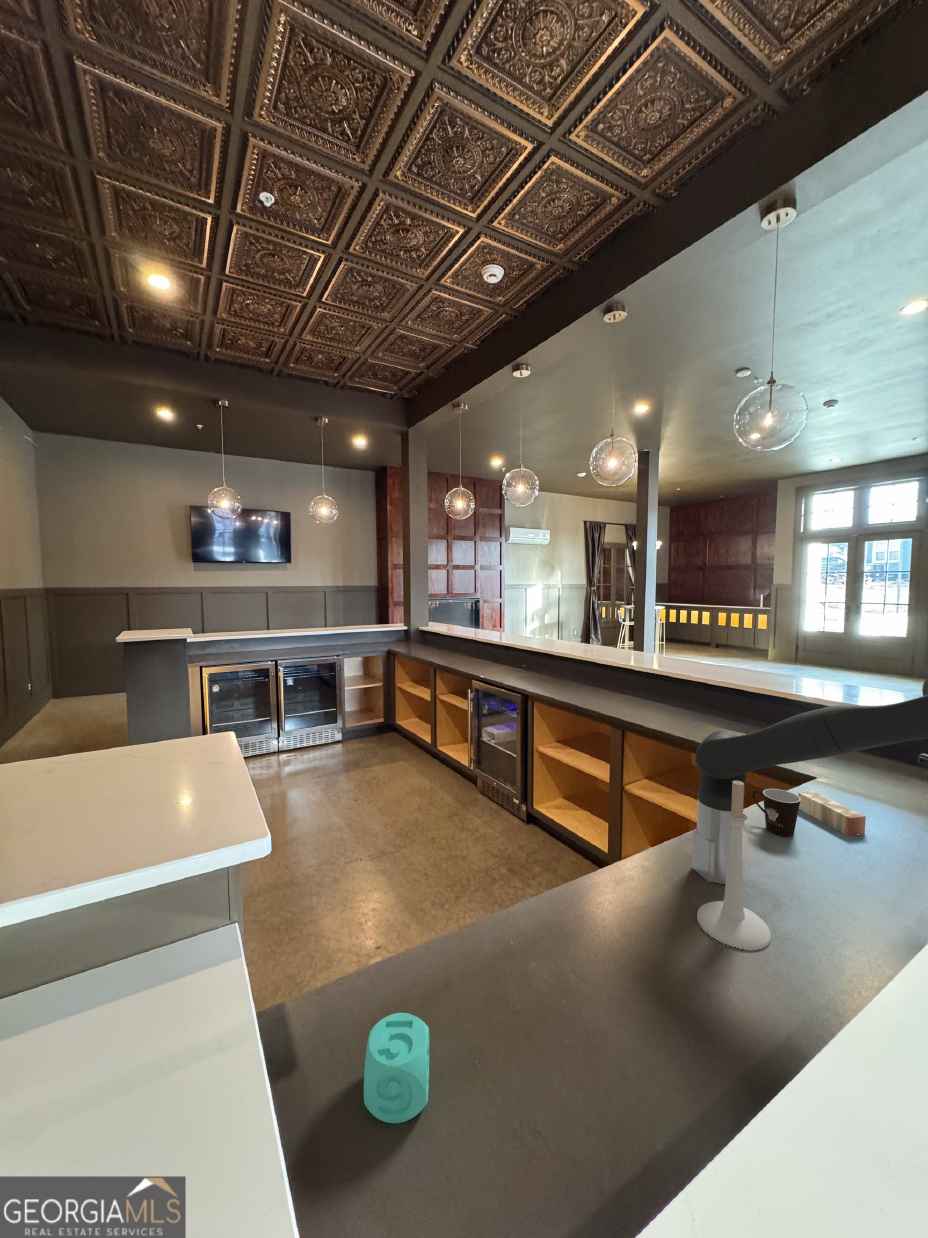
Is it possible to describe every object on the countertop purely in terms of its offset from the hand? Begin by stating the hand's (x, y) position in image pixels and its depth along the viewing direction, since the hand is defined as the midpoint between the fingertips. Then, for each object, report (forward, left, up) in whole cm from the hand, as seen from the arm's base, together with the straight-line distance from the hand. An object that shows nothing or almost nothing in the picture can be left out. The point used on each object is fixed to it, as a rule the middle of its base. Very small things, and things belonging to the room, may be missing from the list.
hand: (919, 757), depth 111 cm
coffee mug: (-14, +24, -28) cm, 39 cm away
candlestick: (-53, -7, -28) cm, 60 cm away
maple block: (+4, +17, -25) cm, 30 cm away
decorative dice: (-120, -26, -28) cm, 126 cm away
